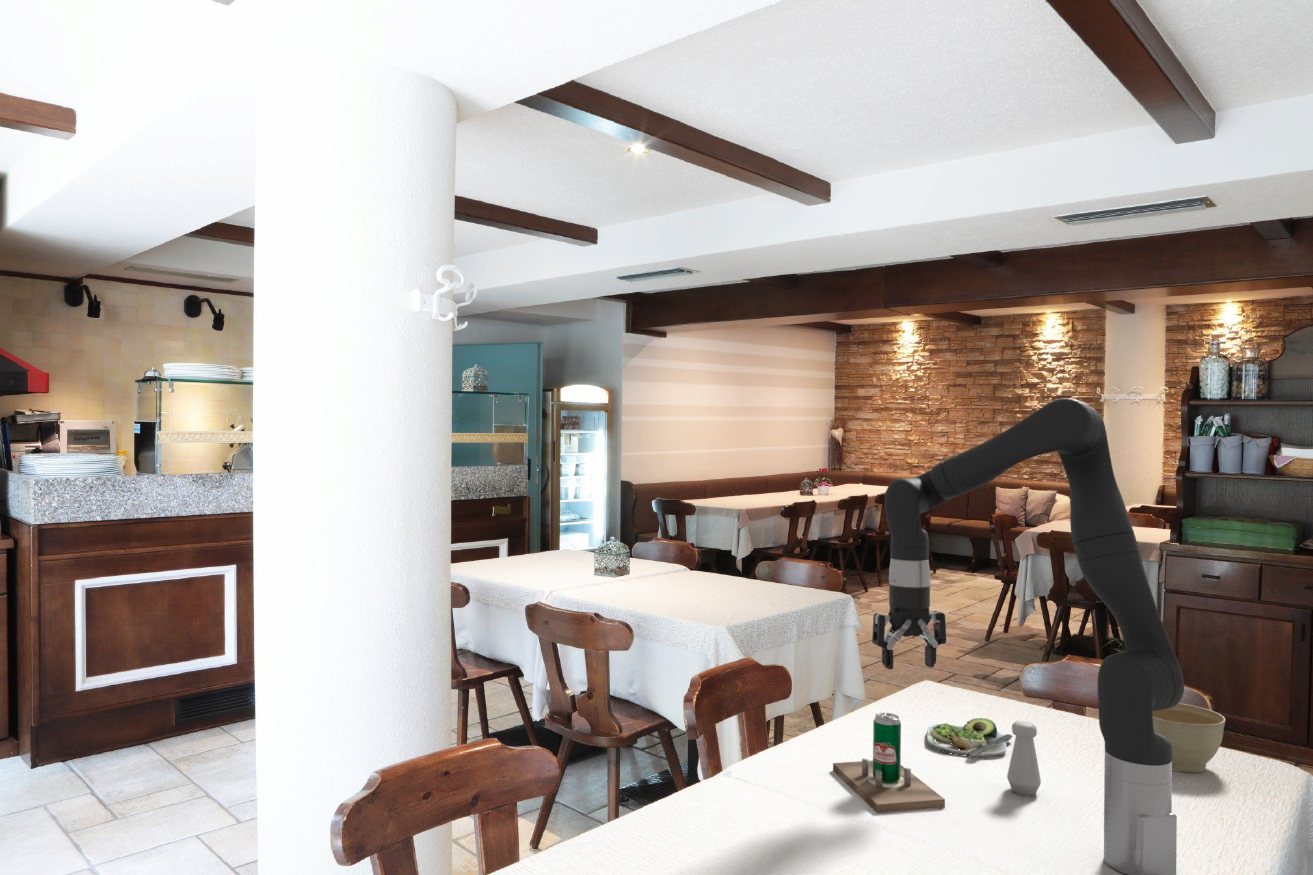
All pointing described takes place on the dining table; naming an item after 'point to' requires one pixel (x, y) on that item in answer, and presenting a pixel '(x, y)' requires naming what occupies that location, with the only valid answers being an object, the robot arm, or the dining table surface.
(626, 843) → the dining table surface
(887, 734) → the soda can
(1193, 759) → the planter bowl
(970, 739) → the salad plate
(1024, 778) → the salt shaker
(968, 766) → the dining table surface
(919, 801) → the pin board
